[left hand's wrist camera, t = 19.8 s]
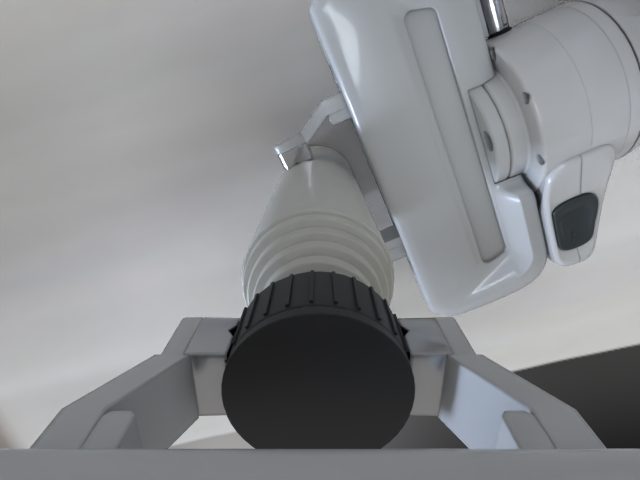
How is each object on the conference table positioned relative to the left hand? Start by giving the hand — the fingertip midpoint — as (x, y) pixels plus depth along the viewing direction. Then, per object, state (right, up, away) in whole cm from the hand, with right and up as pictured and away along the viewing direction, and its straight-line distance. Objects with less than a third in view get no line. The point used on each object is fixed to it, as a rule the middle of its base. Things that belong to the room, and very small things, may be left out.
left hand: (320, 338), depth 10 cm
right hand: (-1, +5, +13) cm, 14 cm away
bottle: (0, +7, +18) cm, 19 cm away
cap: (0, -1, -2) cm, 2 cm away
